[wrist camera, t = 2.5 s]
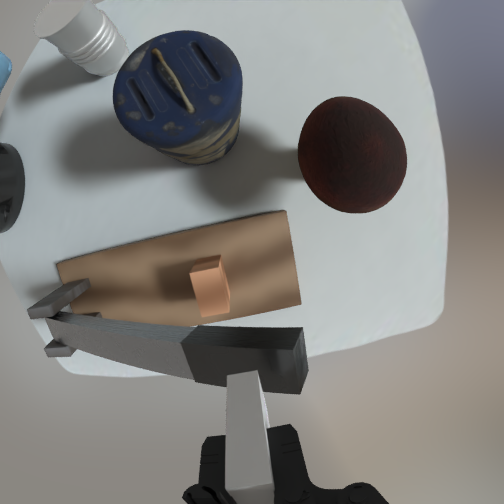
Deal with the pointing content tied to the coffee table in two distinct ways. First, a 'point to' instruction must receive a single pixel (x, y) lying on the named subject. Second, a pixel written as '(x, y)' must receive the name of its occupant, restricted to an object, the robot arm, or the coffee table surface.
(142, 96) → the canister
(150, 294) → the base
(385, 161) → the decorative mushroom
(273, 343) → the lever
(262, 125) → the coffee table surface
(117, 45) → the white ribbed cylinder
